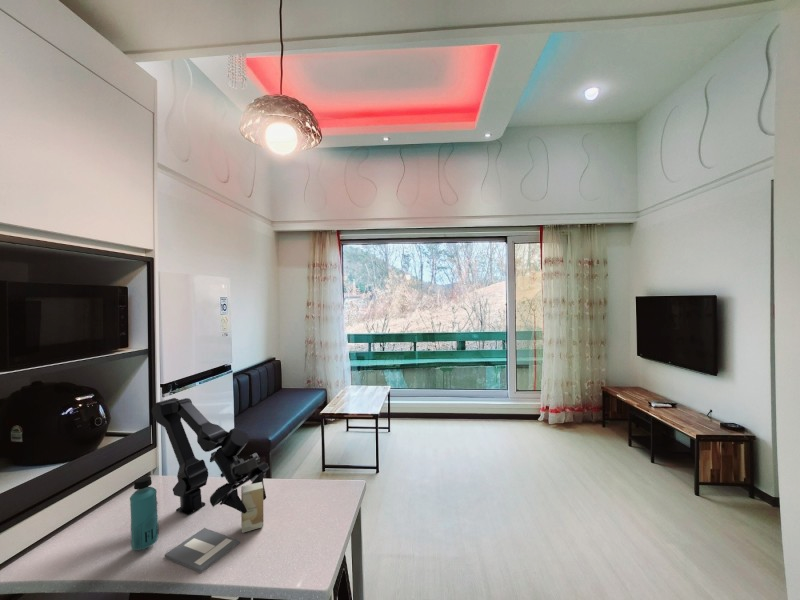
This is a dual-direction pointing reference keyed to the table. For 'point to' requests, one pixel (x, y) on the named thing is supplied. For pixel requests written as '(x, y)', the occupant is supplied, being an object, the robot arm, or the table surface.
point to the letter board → (202, 549)
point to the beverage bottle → (143, 514)
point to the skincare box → (252, 506)
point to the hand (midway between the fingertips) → (255, 505)
